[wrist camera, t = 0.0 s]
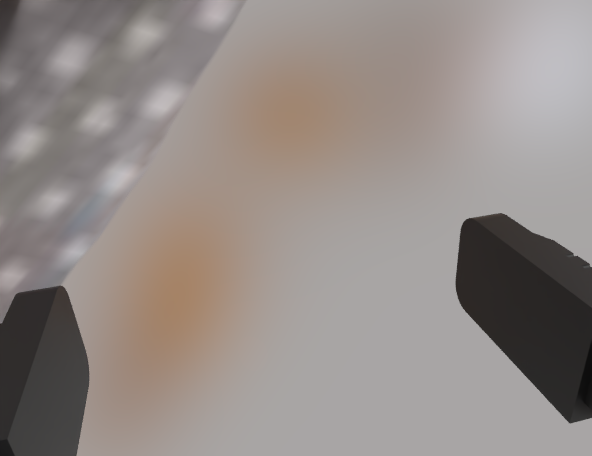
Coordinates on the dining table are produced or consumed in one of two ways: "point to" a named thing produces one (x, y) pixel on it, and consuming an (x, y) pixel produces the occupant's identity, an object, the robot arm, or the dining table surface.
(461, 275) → the robot arm
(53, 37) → the dining table surface
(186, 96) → the dining table surface
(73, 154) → the dining table surface
